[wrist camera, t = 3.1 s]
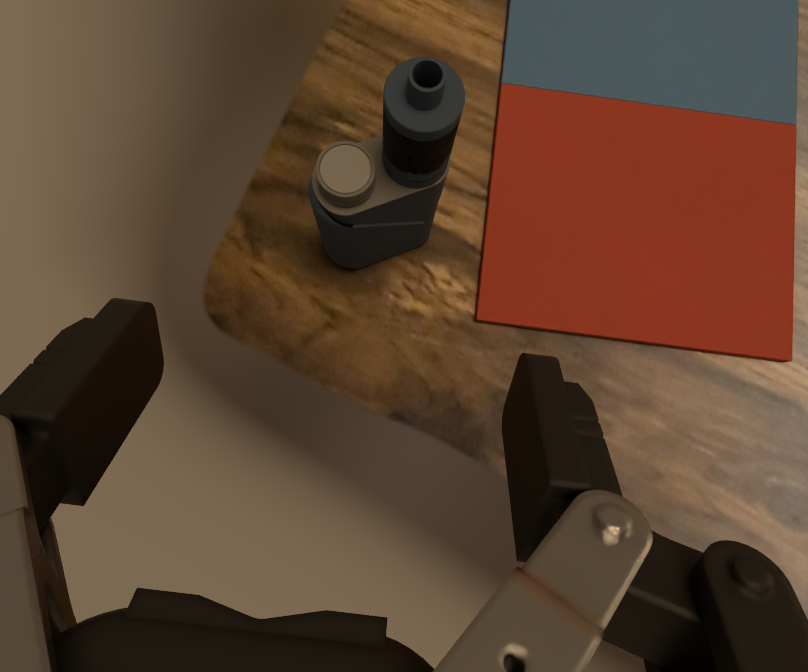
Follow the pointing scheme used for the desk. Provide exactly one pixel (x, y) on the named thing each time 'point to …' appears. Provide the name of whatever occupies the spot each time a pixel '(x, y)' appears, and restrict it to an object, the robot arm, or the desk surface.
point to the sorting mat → (646, 174)
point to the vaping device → (390, 169)
